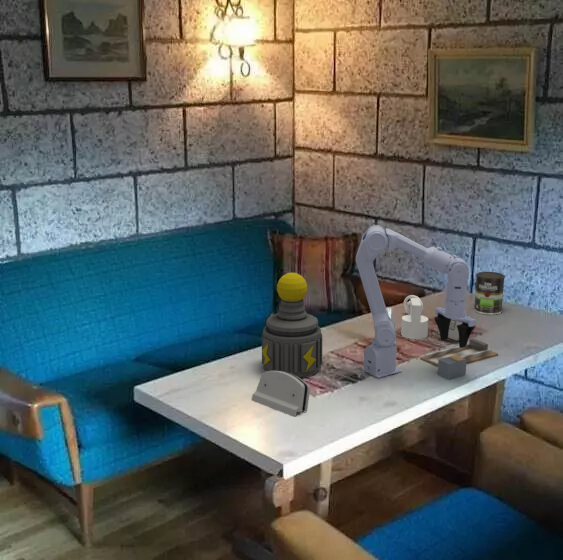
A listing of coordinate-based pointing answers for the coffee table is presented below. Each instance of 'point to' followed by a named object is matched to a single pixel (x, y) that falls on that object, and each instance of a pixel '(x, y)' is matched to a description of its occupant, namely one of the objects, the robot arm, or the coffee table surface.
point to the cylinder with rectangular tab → (414, 322)
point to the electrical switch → (453, 330)
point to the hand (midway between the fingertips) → (453, 343)
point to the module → (452, 367)
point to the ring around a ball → (409, 303)
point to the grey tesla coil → (292, 332)
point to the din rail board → (462, 353)
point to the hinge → (282, 392)
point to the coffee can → (489, 293)
